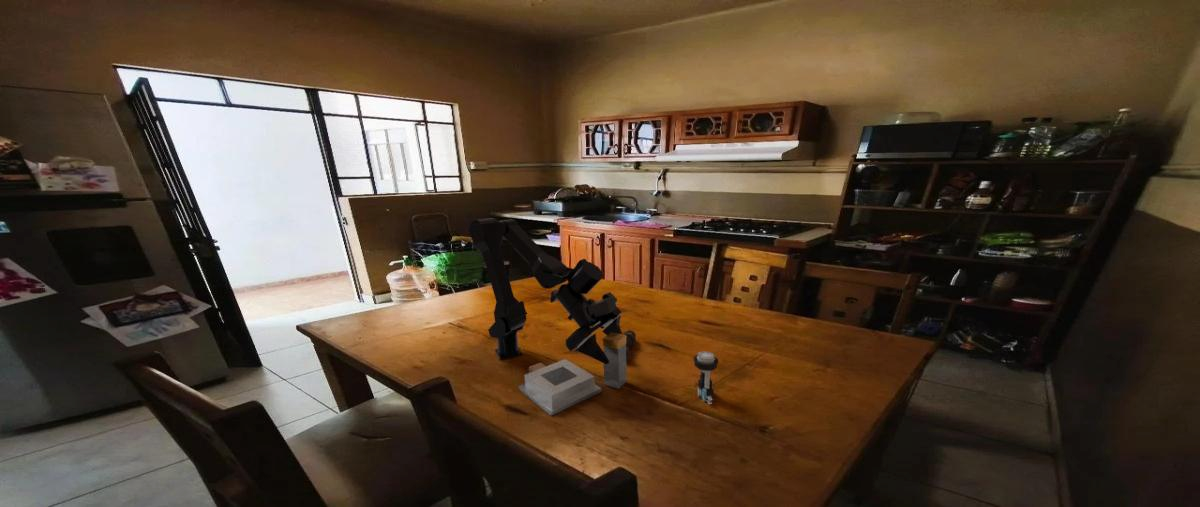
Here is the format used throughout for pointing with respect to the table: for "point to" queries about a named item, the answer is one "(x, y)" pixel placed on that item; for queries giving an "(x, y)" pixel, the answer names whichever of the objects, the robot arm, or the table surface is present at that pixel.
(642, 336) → the table surface
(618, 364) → the grey square peg
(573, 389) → the grey socket base
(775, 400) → the table surface
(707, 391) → the push button
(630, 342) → the bolt
